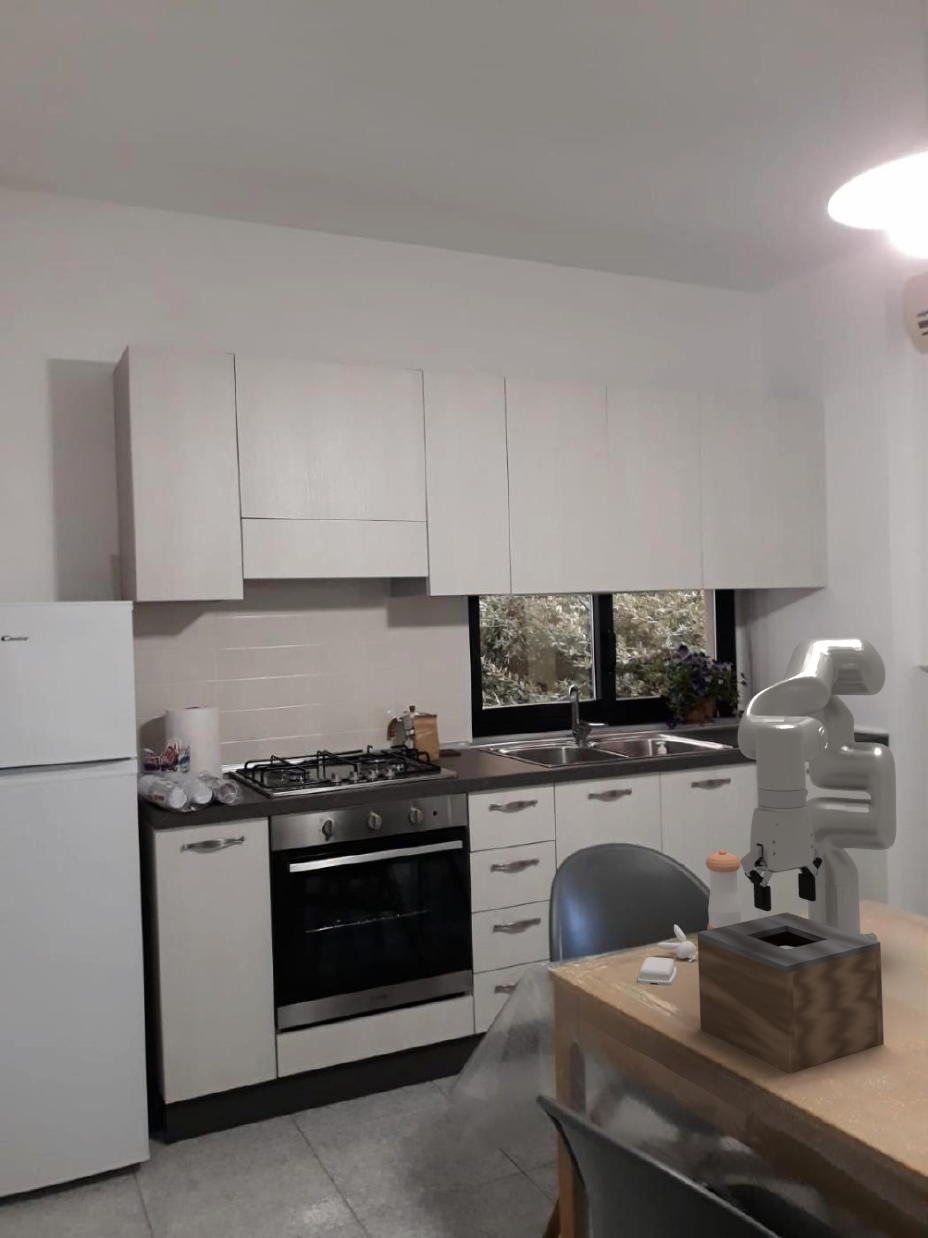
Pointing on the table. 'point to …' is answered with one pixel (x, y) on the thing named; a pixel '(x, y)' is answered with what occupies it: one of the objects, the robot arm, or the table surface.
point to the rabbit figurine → (680, 946)
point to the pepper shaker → (723, 890)
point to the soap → (657, 971)
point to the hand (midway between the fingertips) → (785, 904)
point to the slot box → (791, 990)
